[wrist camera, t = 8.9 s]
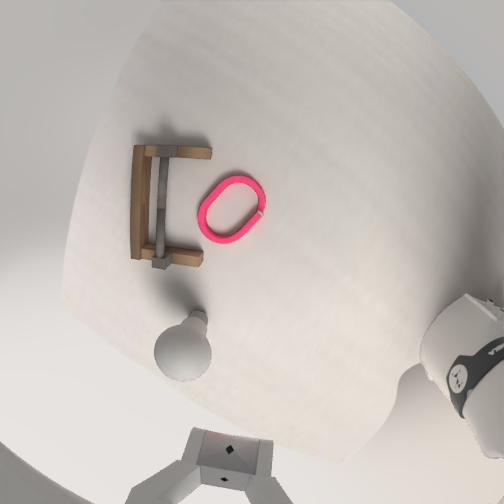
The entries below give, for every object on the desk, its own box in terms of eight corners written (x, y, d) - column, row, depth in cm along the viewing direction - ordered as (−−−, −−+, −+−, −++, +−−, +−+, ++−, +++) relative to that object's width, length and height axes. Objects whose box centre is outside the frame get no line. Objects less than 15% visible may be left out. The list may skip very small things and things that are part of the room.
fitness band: (227, 251, 33) (225, 255, 31) (189, 217, 32) (185, 219, 30) (276, 200, 31) (276, 202, 29) (237, 164, 30) (235, 164, 28)
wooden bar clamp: (212, 148, 29) (203, 146, 25) (202, 261, 33) (193, 274, 29) (143, 145, 29) (127, 144, 25) (139, 251, 33) (125, 263, 29)
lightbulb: (171, 297, 35) (136, 348, 24) (216, 291, 34) (194, 345, 24) (185, 336, 37) (158, 392, 26) (228, 333, 36) (212, 392, 25)
